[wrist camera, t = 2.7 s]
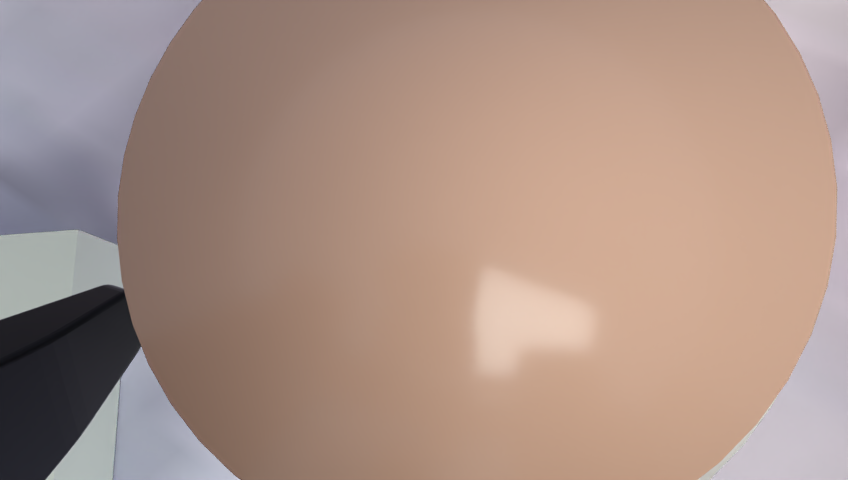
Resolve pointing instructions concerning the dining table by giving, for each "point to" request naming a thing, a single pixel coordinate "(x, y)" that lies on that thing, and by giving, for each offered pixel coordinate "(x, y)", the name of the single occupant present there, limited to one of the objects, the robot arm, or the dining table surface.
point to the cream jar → (476, 234)
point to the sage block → (53, 280)
